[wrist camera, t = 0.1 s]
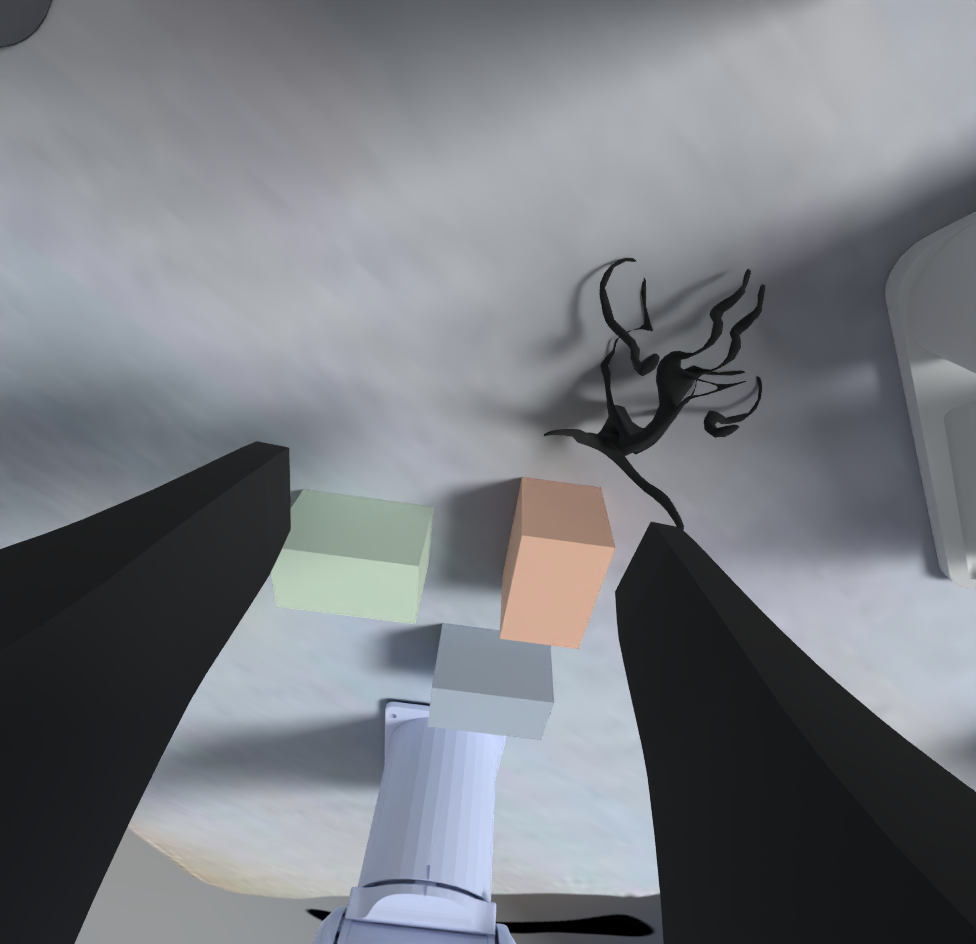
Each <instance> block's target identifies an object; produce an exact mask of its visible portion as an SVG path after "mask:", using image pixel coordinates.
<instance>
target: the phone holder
mask: <svg viewBox="0 0 976 944" xmlns="http://www.w3.org/2000/svg"><path fill="white" fill-rule="evenodd" d="M885 298H886V304H887V309H888V314H889V319H890V324H891V329H892V334H893V339H894V344H895V349H896V354H897V359H898V364H899V369H900V374H901V379H902V384H903V388H904V393H905V398H906V403H907V408H908V413H909V418H910V423H911V428H912V433H913V438H914V443H915V448H916V453H917V458H918V463H919V468H920V473H921V478H922V483H923V488H924V493H925V498H926V503H927V508H928V513H929V518H930V523H931V528H932V533H933V538H934V543H935V548H936V553H937V558H938V563H939V567H940V570H941V571H942V572H943V573H944V574H945V575H946V576H947V577H948V578H949V579H950V580H951V581H952V582H953V583H954V584H955V585H957V586H959V587H963V588H976V211H975V212H973V213H971V214H969V215H967V216H965V217H963V218H961V219H959V220H957V221H955V222H953V223H951V224H949V225H947V226H945V227H943V228H941V229H939V230H937V231H936V232H934V233H932V234H930V235H928V236H926V237H924V238H922V239H921V240H919V241H918V242H916V243H915V244H914V245H913V246H911V247H910V248H909V249H908V250H907V251H906V252H905V253H904V254H903V255H902V256H901V257H900V258H899V260H898V261H897V262H896V264H895V265H894V267H893V269H892V270H891V272H890V275H889V277H888V280H887V283H886V288H885Z"/></svg>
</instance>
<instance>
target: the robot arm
mask: <svg viewBox="0 0 976 944" xmlns="http://www.w3.org/2000/svg"><path fill="white" fill-rule="evenodd" d="M290 530H291V511H290V465H289V448H287V447H282V446H278V445H273V444H268V443H263V442H258V441H257V442H254V443H252V444H249V445H247V446H244V447H242V448H240V449H238V450H236V451H234V452H231V453H229V454H227V455H225V456H223V457H221V458H219V459H217V460H215V461H213V462H211V463H208V464H206V465H204V466H202V467H200V468H198V469H196V470H194V471H192V472H190V473H187V474H185V475H183V476H181V477H179V478H177V479H175V480H172V481H170V482H168V483H166V484H164V485H162V486H160V487H158V488H155V489H153V490H151V491H149V492H146V493H144V494H142V495H139V496H137V497H135V498H132V499H130V500H128V501H125V502H123V503H120V504H118V505H116V506H113V507H111V508H109V509H106V510H104V511H102V512H99V513H97V514H94V515H92V516H90V517H87V518H85V519H83V520H80V521H77V522H75V523H72V524H70V525H67V526H64V527H62V528H59V529H56V530H54V531H51V532H48V533H46V534H43V535H40V536H37V537H34V538H31V539H28V540H26V541H23V542H20V543H17V544H14V545H11V546H8V547H5V548H2V549H0V944H74V943H75V941H76V939H77V936H78V934H79V932H80V930H81V927H82V925H83V922H84V920H85V918H86V916H87V914H88V911H89V909H90V907H91V904H92V902H93V900H94V898H95V896H96V893H97V891H98V889H99V887H100V885H101V883H102V880H103V878H104V876H105V874H106V872H107V870H108V867H109V865H110V863H111V861H112V859H113V857H114V854H115V852H116V850H117V848H118V846H119V844H120V841H121V839H122V837H123V835H124V833H125V831H126V829H127V826H128V824H129V822H130V820H131V818H132V816H133V814H134V812H135V810H136V808H137V806H138V804H139V802H140V800H141V798H142V796H143V793H144V791H145V789H146V787H147V785H148V783H149V781H150V779H151V777H152V775H153V773H154V771H155V769H156V767H157V765H158V763H159V761H160V759H161V757H162V755H163V753H164V751H165V749H166V747H167V745H168V743H169V741H170V739H171V737H172V735H173V733H174V731H175V730H176V728H177V726H178V724H179V722H180V720H181V718H182V716H183V714H184V712H185V710H186V708H187V706H188V704H189V702H190V700H191V699H192V697H193V695H194V694H195V692H196V690H197V689H198V687H199V685H200V683H201V682H202V680H203V678H204V677H205V675H206V673H207V672H208V670H209V669H210V667H211V666H212V664H213V662H214V661H215V659H216V658H217V656H218V655H219V653H220V652H221V650H222V649H223V647H224V645H225V644H226V642H227V641H228V639H229V638H230V636H231V635H232V633H233V631H234V630H235V628H236V627H237V625H238V624H239V622H240V621H241V619H242V617H243V616H244V614H245V613H246V611H247V610H248V608H249V607H250V605H251V603H252V602H253V600H254V599H255V597H256V595H257V594H258V592H259V591H260V589H261V588H262V586H263V584H264V583H265V581H266V580H267V578H268V576H269V575H270V573H271V571H272V569H273V567H274V565H275V563H276V561H277V559H278V556H279V554H280V552H281V550H282V548H283V546H284V543H285V541H286V539H287V537H288V534H289V532H290ZM615 597H616V614H617V626H618V636H619V642H620V647H621V652H622V657H623V662H624V666H625V671H626V676H627V681H628V685H629V690H630V694H631V699H632V703H633V708H634V712H635V717H636V721H637V726H638V731H639V735H640V740H641V744H642V749H643V754H644V760H645V765H646V771H647V777H648V785H649V793H650V801H651V810H652V818H653V826H654V835H655V845H656V855H657V866H658V876H659V887H660V896H661V909H662V924H663V939H664V944H976V792H975V791H974V790H973V789H971V788H970V787H968V786H967V785H966V784H964V783H963V782H962V781H960V780H959V779H957V778H956V777H955V776H954V775H952V774H951V773H950V772H948V771H947V770H946V769H944V768H943V767H942V766H940V765H939V764H938V763H936V762H935V761H934V760H932V759H931V758H930V757H928V756H927V755H926V754H925V753H923V752H922V751H921V750H919V749H918V748H917V747H915V746H914V745H913V744H911V743H910V742H909V741H907V740H906V739H905V738H904V737H902V736H901V735H900V734H899V733H897V732H896V731H895V730H894V729H892V728H891V727H890V726H889V725H887V724H886V723H885V722H884V721H882V720H881V719H880V718H879V717H877V716H876V715H875V714H874V713H873V712H872V711H870V710H869V709H868V708H867V707H866V706H864V705H863V704H862V703H861V702H860V701H859V700H857V699H856V698H855V697H854V696H853V695H851V694H850V693H849V692H848V691H847V690H846V689H844V688H843V687H842V686H841V685H840V684H838V683H837V682H836V681H835V680H834V679H833V678H832V677H831V676H829V675H828V674H827V673H826V672H825V671H824V670H823V669H822V668H820V667H819V666H818V665H817V664H816V663H815V662H814V661H813V660H812V659H811V658H810V657H809V656H808V655H807V654H805V653H804V652H803V651H802V650H801V649H800V648H799V647H798V646H797V645H796V644H795V643H794V642H793V641H792V640H791V639H790V638H789V637H788V636H786V635H785V634H784V633H783V632H782V631H781V630H780V629H779V628H778V627H777V626H776V625H775V624H774V623H773V622H772V621H771V620H770V619H769V618H768V617H767V616H766V615H765V614H764V613H763V612H762V611H761V610H760V609H759V608H758V607H757V606H756V605H755V604H754V603H753V602H752V600H751V599H750V598H749V597H748V596H747V595H746V594H745V593H744V592H743V591H742V590H741V589H740V588H739V587H738V586H737V585H736V584H735V583H734V582H733V581H732V580H731V579H730V578H729V577H728V575H727V574H726V573H725V572H724V571H723V570H722V569H721V568H720V567H719V566H718V565H717V564H716V563H715V562H714V561H713V560H712V559H711V558H710V556H709V555H708V554H707V553H706V552H705V551H704V550H703V549H702V548H701V547H700V546H699V545H698V544H697V543H696V542H695V541H694V540H693V539H692V538H691V537H690V536H689V535H688V534H687V533H685V532H684V531H683V530H682V529H681V528H679V527H674V526H670V525H665V524H660V523H655V522H651V523H650V524H649V526H648V528H647V530H646V532H645V534H644V536H643V538H642V540H641V542H640V544H639V546H638V548H637V550H636V552H635V554H634V556H633V558H632V560H631V562H630V564H629V566H628V568H627V570H626V571H625V573H624V575H623V577H622V579H621V581H620V583H619V585H618V587H617V589H616V591H615ZM429 710H430V706H425V705H417V704H409V703H401V702H389V703H387V705H386V708H385V760H384V771H383V776H382V780H381V785H380V789H379V794H378V798H377V803H376V807H375V812H374V816H373V821H372V825H371V830H370V834H369V839H368V843H367V848H366V852H365V857H364V861H363V866H362V870H361V875H360V879H359V884H358V887H352V888H351V892H350V897H349V901H348V906H347V907H341V906H338V907H336V908H334V909H333V911H332V912H331V914H330V915H329V916H328V917H327V918H326V919H325V920H324V921H323V922H322V923H321V925H320V926H319V929H318V931H317V933H316V936H315V938H314V941H313V944H516V943H515V941H514V939H513V938H512V936H511V935H510V933H509V930H508V928H507V926H506V925H504V924H496V904H495V903H493V902H491V881H492V855H493V830H494V805H495V780H496V774H497V771H498V767H499V763H500V760H501V756H502V753H503V749H504V745H505V742H506V738H507V736H501V735H493V734H485V733H477V732H469V731H461V730H452V729H444V728H436V727H428V720H429ZM495 924H496V925H495Z"/></svg>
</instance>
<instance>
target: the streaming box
mask: <svg viewBox="0 0 976 944" xmlns="http://www.w3.org/2000/svg"><path fill="white" fill-rule="evenodd" d="M50 3H51V0H0V47H1V46H6V45H11V44H15V43H17V42H19V41H21V40H23V39H25V38H27V37H28V36H29V35H30V34H31V33H32V32H34V31H35V30H36V29H37V28H38V26H39V25H40V23H41V22H42V20H43V19H44V17H45V16H46V13H47V11H48V8H49V5H50Z"/></svg>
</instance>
